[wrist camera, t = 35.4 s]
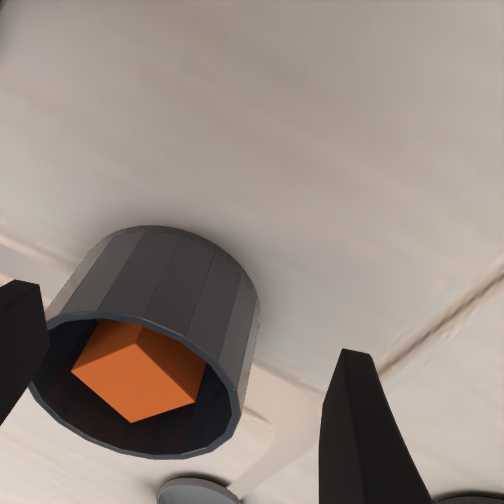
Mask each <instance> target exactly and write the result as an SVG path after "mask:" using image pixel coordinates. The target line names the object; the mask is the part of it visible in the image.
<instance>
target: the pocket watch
mask: <svg viewBox="0 0 504 504" xmlns="http://www.w3.org/2000/svg"><path fill="white" fill-rule="evenodd" d="M157 503H158V504H241V502H240V501H239V499H238V498H237V496H236V495H234V494H233V493H231V492H230V491H229V490H228V489H226V488H225V487H223V486H220V485H218V484H216V483H214V482H210V481H207V480H203V479H196V478H178V479H174V480H170V481H168V482H166V483H165V484H164V485H163V486H161V487H160V490H159V492H158V494H157Z"/></svg>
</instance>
